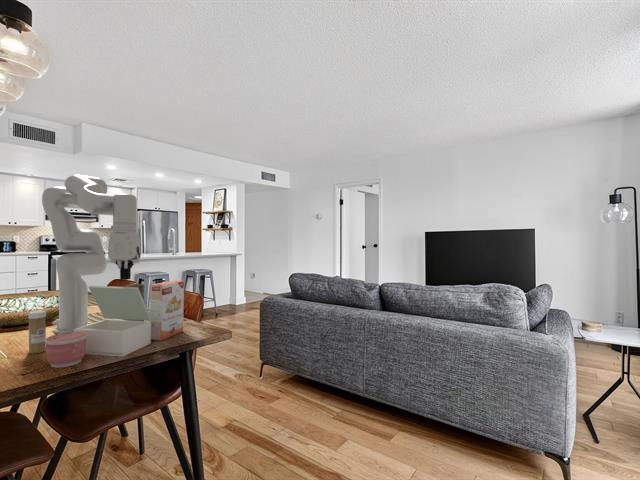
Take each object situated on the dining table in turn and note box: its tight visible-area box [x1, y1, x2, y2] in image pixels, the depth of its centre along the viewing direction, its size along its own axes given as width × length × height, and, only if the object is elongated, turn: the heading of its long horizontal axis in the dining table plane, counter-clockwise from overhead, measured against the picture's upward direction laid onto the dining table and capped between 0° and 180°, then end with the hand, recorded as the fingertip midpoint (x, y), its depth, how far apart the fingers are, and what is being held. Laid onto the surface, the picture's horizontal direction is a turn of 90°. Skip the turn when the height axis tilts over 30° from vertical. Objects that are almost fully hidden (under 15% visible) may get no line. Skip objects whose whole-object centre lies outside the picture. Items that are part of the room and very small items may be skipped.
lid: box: [87, 285, 151, 321], centre depth 122 cm, size 19×14×1 cm
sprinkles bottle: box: [28, 310, 47, 355], centre depth 115 cm, size 5×5×14 cm
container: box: [45, 332, 87, 368], centre depth 105 cm, size 10×10×8 cm
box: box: [74, 318, 152, 358], centre depth 119 cm, size 18×14×8 cm
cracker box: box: [148, 280, 185, 342], centre depth 134 cm, size 14×6×21 cm, turn 168°
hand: (125, 279), depth 124 cm, fingers closed
